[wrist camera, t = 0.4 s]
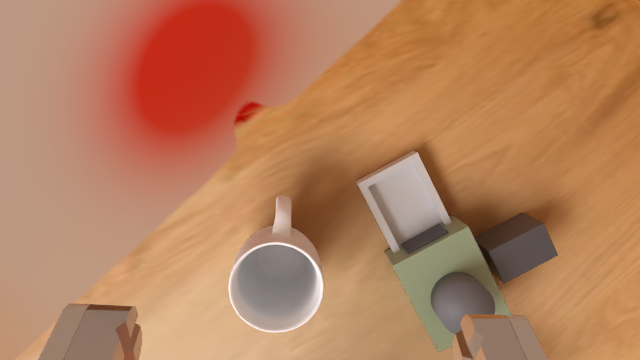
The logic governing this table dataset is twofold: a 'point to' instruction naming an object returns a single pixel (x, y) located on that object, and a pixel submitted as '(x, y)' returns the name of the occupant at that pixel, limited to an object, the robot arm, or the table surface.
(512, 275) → the tall grey rectangular block
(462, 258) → the green box with dome
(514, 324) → the robot arm
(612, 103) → the table surface
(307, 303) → the mug
